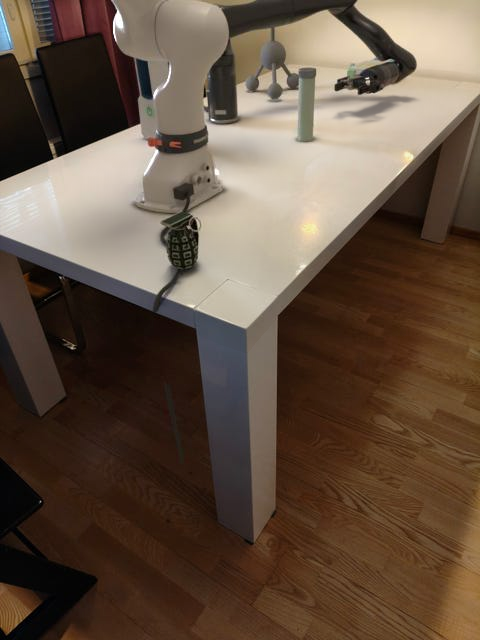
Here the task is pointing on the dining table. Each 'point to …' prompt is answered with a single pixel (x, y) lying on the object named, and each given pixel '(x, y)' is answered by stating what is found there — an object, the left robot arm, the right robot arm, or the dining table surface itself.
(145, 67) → the electronic device
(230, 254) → the dining table surface
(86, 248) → the dining table surface
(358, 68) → the grey box with clips
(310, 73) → the lid
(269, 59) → the molecular model
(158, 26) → the left robot arm
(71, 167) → the dining table surface
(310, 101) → the mint green cylinder
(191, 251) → the grenade
